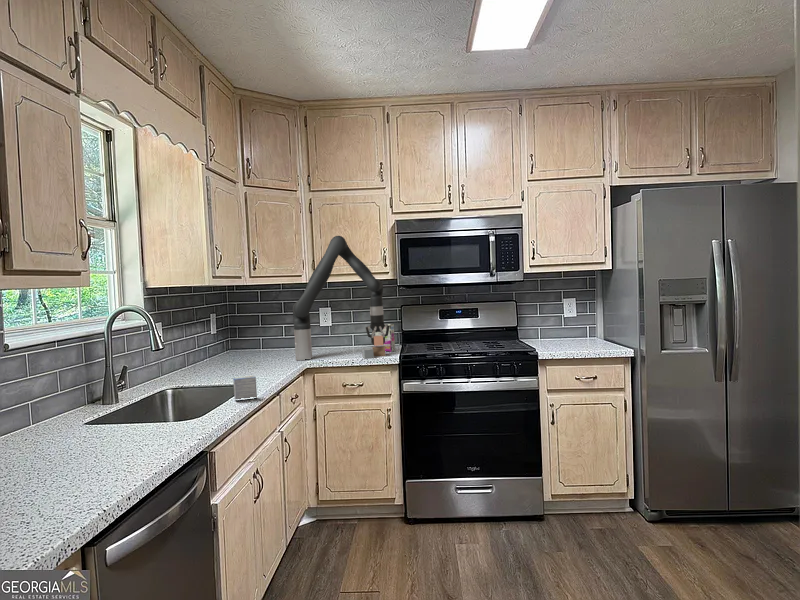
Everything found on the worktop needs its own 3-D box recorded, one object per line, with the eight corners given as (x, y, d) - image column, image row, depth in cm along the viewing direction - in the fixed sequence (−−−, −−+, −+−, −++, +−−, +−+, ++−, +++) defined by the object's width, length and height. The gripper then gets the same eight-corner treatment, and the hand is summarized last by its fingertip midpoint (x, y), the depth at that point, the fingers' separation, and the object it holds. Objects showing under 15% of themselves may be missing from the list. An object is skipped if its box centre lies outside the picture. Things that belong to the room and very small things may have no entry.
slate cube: (364, 359, 300) (364, 350, 300) (362, 358, 305) (362, 349, 305) (373, 358, 302) (373, 349, 302) (371, 357, 307) (370, 348, 306)
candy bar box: (395, 351, 328) (394, 323, 327) (391, 352, 323) (390, 324, 323) (379, 350, 333) (378, 323, 332) (375, 351, 329) (373, 324, 328)
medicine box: (255, 397, 212) (254, 375, 212) (257, 399, 208) (256, 376, 207) (234, 400, 209) (233, 377, 208) (235, 402, 205) (234, 379, 204)
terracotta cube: (373, 344, 313) (373, 336, 313) (382, 344, 314) (381, 335, 314) (374, 345, 308) (374, 336, 308) (383, 345, 309) (382, 336, 309)
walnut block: (372, 357, 308) (372, 348, 308) (372, 355, 315) (372, 346, 315) (385, 356, 308) (384, 347, 308) (384, 354, 315) (384, 346, 315)
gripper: (388, 313, 315) (389, 342, 316) (363, 314, 313) (365, 344, 314) (390, 314, 308) (391, 344, 309) (364, 315, 306) (366, 345, 306)
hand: (378, 344), depth 311 cm, fingers closed on terracotta cube, 5 cm apart
